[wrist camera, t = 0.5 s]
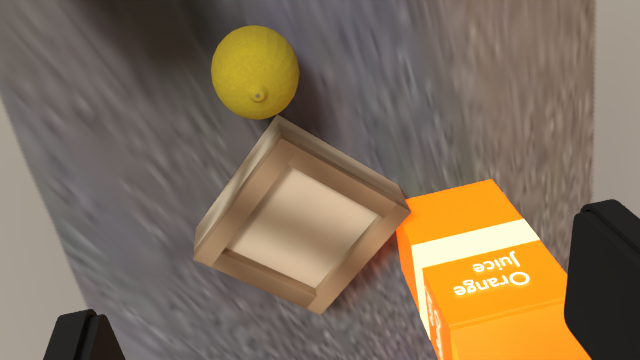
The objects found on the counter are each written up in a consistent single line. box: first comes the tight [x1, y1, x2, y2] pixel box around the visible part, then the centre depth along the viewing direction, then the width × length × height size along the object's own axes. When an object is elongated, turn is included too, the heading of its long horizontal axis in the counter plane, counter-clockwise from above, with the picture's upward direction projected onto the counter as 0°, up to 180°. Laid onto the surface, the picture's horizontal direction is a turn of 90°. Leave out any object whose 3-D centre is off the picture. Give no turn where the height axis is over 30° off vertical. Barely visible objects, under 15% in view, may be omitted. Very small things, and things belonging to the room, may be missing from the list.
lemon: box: [211, 25, 299, 119], centre depth 36 cm, size 6×6×8 cm
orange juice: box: [396, 179, 591, 360], centre depth 41 cm, size 8×9×20 cm
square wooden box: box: [193, 114, 411, 315], centre depth 45 cm, size 12×12×4 cm
